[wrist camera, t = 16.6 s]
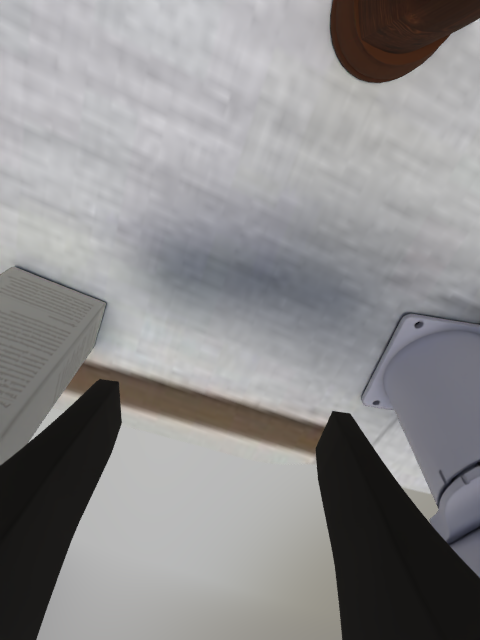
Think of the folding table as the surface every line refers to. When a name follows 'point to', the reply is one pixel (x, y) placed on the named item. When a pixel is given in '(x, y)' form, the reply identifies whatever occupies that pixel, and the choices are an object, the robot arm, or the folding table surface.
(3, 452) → the cosmetic box
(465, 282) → the folding table surface
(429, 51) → the chess piece
